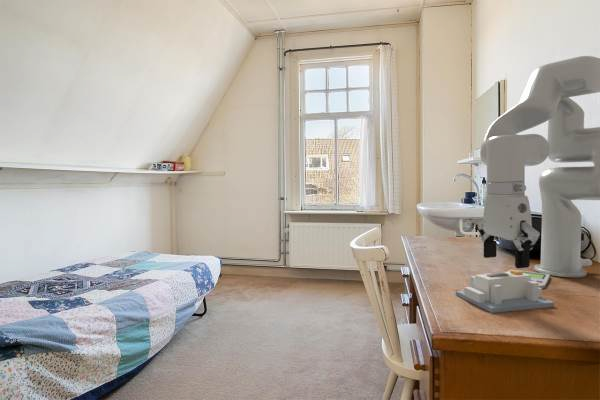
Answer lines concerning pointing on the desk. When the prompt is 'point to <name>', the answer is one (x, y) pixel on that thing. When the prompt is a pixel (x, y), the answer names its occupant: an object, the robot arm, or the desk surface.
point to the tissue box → (504, 284)
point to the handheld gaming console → (537, 278)
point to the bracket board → (500, 305)
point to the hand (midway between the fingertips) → (505, 262)
